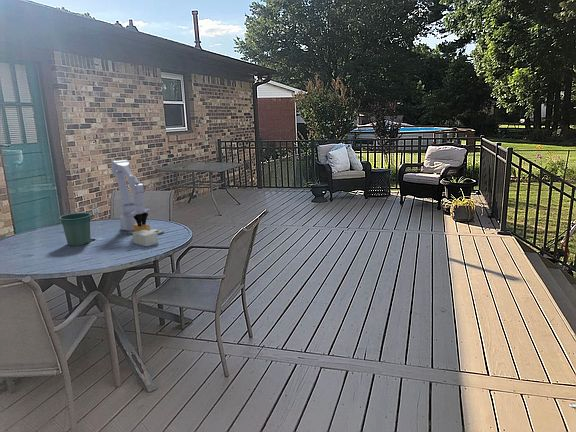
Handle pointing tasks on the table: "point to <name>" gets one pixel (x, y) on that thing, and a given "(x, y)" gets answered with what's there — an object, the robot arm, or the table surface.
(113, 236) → the table surface
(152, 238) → the small box
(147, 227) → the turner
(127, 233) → the tool board
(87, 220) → the flower pot
